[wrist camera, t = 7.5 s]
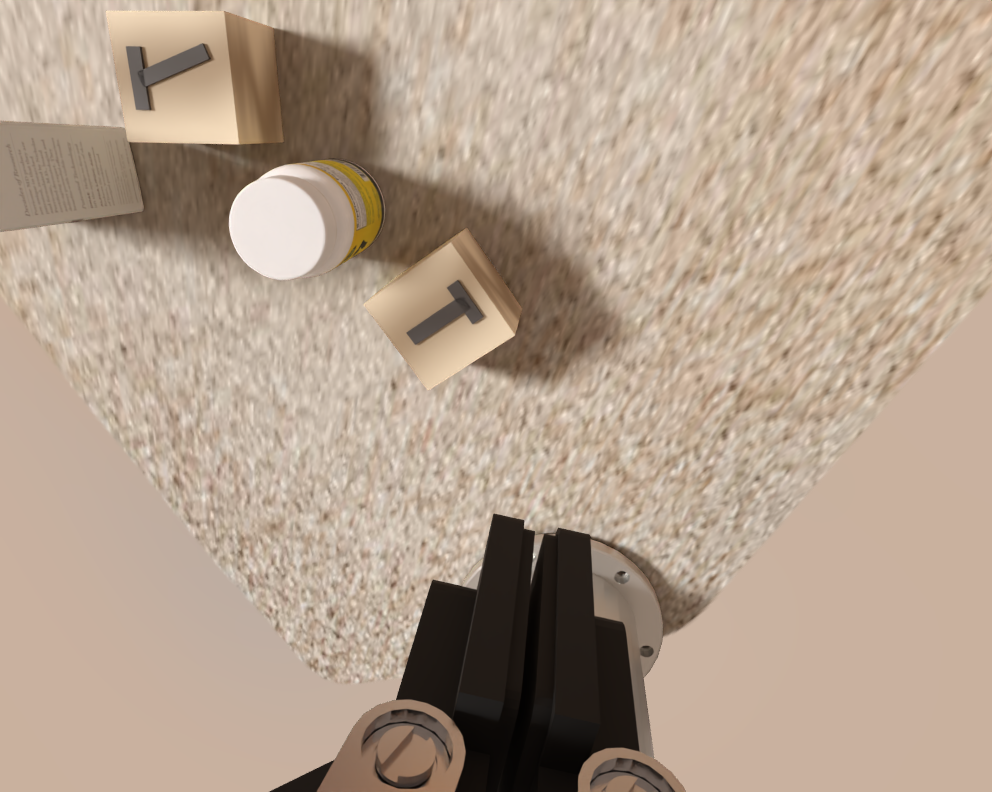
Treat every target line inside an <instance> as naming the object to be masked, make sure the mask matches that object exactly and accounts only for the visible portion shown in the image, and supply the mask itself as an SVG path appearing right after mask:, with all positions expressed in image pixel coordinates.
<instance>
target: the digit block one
mask: <svg viewBox="0 0 992 792" xmlns="http://www.w3.org/2000/svg"><path fill="white" fill-rule="evenodd" d="M363 305H364V306H365V307H366V309H367V310H368V311H369V313H370V314H371V315H372V317H373V318H374V319H375V321H376V322H377V323H378V325H379V326H380V327H381V329H382V330H383V331H384V333H385V334H386V335H387V337H388V338H389V339H390V341H391V342H392V343H393V345H394V346H395V347H396V349H397V350H398V351H399V353H400V354H401V355H402V357H403V358H404V359H405V361H406V362H407V363H408V365H409V366H410V367H411V369H412V370H413V371H414V373H415V374H416V375H417V377H418V378H419V379H420V381H421V382H422V383H423V385H424V386H425V387H426V389H427V390H430V389H432V388H433V387H435V386H436V385H438V384H439V383H441V382H443V381H444V380H446V379H447V378H449V377H450V376H452V375H454V374H455V373H457V372H458V371H460V370H461V369H463V368H465V367H466V366H468V365H469V364H471V363H472V362H474V361H476V360H477V359H479V358H480V357H482V356H483V355H485V354H487V353H488V352H490V351H491V350H493V349H494V348H496V347H498V346H499V345H501V344H502V343H504V342H505V341H507V340H509V339H510V338H512V337H513V336H515V334H516V330H517V327H518V323H519V319H520V316H521V312H522V307H521V306H520V304H519V303H518V302H517V300H516V299H515V297H514V296H513V294H512V293H511V291H510V290H509V288H508V287H507V285H506V284H505V282H504V281H503V280H502V278H501V277H500V275H499V274H498V272H497V271H496V269H495V268H494V266H493V265H492V263H491V262H490V260H489V259H488V258H487V256H486V255H485V253H484V252H483V250H482V249H481V247H480V246H479V244H478V243H477V241H476V240H475V238H474V237H473V236H472V234H471V233H470V231H469V230H468V228H467V227H466V228H465V229H464V230H462V231H461V232H459V233H458V234H457V235H455V236H454V237H452V238H451V239H450V240H448V241H447V242H445V243H444V244H442V245H441V246H440V247H438V248H437V249H435V250H434V251H433V252H431V253H430V254H428V255H427V256H426V257H424V258H423V259H421V260H420V261H418V262H417V263H416V264H414V265H413V266H411V267H410V268H409V269H407V270H406V271H404V272H403V273H402V274H400V275H399V276H397V277H396V278H394V279H393V280H392V281H390V282H389V283H388V284H387V285H385V286H384V287H383V288H382V289H381V290H380V291H378V292H377V293H376V294H375V295H374V296H372V297H371V298H370V299H369V300H368V301H367V302H365V303H364V304H363Z"/></svg>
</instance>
